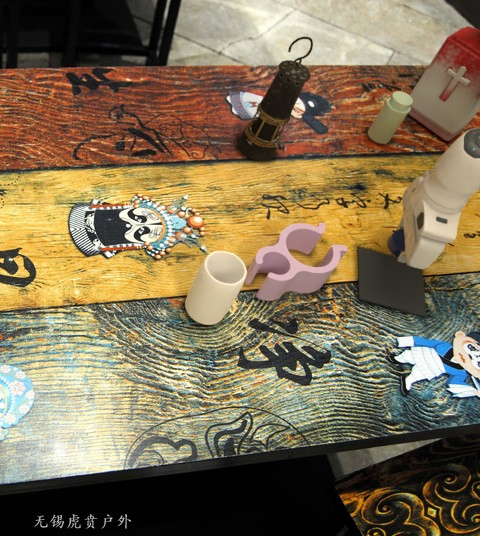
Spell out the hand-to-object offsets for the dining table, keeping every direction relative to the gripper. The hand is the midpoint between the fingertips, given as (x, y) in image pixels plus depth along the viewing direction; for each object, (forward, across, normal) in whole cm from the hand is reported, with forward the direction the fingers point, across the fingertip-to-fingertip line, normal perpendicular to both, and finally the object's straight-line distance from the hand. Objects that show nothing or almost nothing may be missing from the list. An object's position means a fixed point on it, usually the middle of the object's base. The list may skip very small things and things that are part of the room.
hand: (400, 246), depth 152 cm
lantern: (+6, -25, -31) cm, 40 cm away
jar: (+6, -41, -1) cm, 41 cm away
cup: (+6, +25, -37) cm, 45 cm away
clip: (+6, +10, -21) cm, 24 cm away
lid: (-1, 0, 0) cm, 1 cm away
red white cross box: (+6, -52, +13) cm, 54 cm away
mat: (+6, +5, +1) cm, 8 cm away
